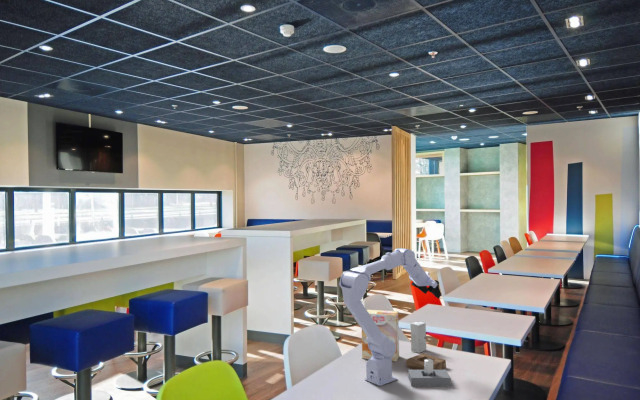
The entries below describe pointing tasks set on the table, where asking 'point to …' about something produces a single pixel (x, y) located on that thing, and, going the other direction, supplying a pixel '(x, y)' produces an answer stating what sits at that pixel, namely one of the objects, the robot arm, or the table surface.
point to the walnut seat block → (418, 362)
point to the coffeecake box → (383, 330)
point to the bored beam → (429, 378)
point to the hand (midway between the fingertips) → (433, 294)
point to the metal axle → (428, 367)
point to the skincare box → (418, 336)
